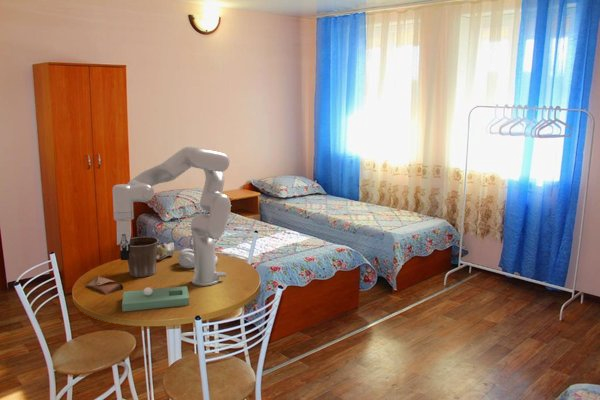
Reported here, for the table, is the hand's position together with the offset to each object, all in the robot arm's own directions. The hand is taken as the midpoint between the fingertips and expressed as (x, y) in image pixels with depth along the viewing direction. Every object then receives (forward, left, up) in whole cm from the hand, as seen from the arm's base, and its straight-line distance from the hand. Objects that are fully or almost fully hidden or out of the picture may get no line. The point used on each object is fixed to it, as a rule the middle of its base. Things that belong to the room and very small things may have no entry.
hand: (125, 256), depth 213 cm
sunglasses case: (+12, -21, -21) cm, 31 cm away
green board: (-11, +2, -20) cm, 23 cm away
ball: (-8, +2, -15) cm, 17 cm away
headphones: (-32, -43, -20) cm, 57 cm away
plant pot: (-5, -36, -20) cm, 41 cm away
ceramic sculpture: (-15, -59, -20) cm, 64 cm away
